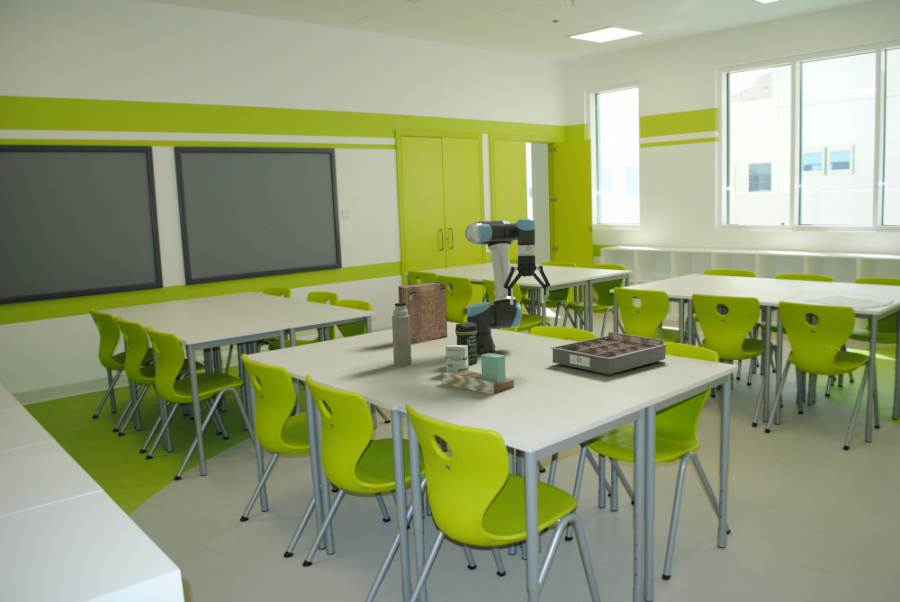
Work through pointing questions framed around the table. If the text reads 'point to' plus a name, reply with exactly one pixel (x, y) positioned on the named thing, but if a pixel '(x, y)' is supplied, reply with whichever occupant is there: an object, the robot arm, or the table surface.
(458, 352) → the ink box
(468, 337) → the coffee jar
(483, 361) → the teal block
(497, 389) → the brown flat block
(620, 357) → the organizer tray
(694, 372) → the table surface
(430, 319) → the book
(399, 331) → the thermos bottle
